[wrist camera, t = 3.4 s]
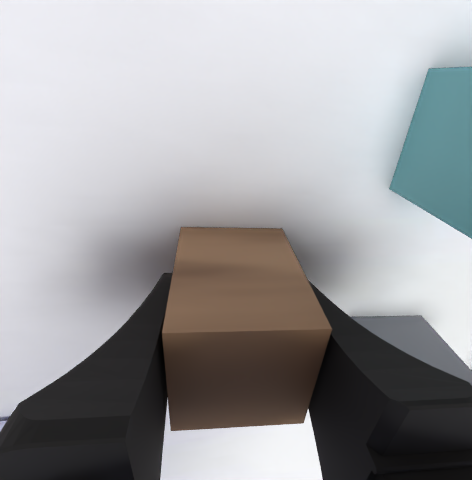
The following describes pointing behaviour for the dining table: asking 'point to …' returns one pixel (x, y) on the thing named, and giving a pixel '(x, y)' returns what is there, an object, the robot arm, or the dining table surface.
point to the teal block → (440, 149)
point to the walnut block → (240, 331)
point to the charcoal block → (417, 342)
